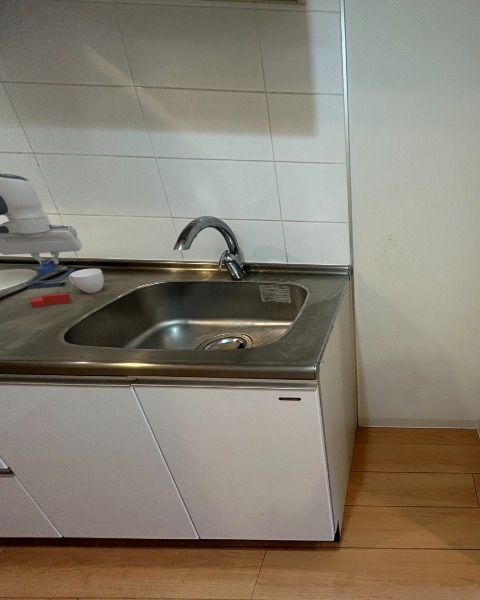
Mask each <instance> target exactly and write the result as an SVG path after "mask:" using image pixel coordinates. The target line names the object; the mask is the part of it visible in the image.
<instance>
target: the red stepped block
mask: <svg viewBox="0 0 480 600" xmlns="http://www.w3.org/2000/svg"><path fill="white" fill-rule="evenodd" d="M72 301H73V300H72V298H71V296H70V294H69V292H62V293H51V294H44V295H42V296H38V297H34V298H31V299H29V302H30V305H31V306H32V308H41V307H45V306H52V305H63V304H70V303H72Z"/></svg>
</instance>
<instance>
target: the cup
mask: <svg viewBox="0 0 480 600" xmlns="http://www.w3.org/2000/svg"><path fill="white" fill-rule="evenodd" d="M68 280H69V281H70V284H72V285H73V286H75V287H77V288H78V289H79V290H80V291H82V292H84V293H86V294H93V293H98V292H100V291H102V289H103V287H104V283H105V277H104V273H103V271H102V269H100V268H86V269H84V268H83V269H80V270H75V271H72V272H71V273H70V274H69V275H68Z"/></svg>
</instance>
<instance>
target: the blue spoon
mask: <svg viewBox="0 0 480 600" xmlns="http://www.w3.org/2000/svg"><path fill="white" fill-rule="evenodd" d="M51 259H53V257H52V258H49V259H47V261H45V262H44V263H42V265H41V266H38V267H36V268H35V269H36V271H37V274H40V275H42V276H45V275H49V274H50V275H51V274H52V273H54V272H53V271H52V270H56V269H57V268H59V263H58V264H51V262H50V260H51Z"/></svg>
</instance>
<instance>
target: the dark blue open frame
mask: <svg viewBox="0 0 480 600" xmlns="http://www.w3.org/2000/svg"><path fill="white" fill-rule="evenodd" d="M52 271H53V272H52V273H55V272H56V273H57V272H66V273H64V274H63V275H61V276H60V277H59V278H58V279H49V280H38V281H36V280H37V279H38V278H39V279H40V277H42V276H43V275H40V274H39V273H37V274H36V275H35V276H34V277H32V278H31V279H29V280H27V281H26V282H25V284H26V285H27V288H28V290H41V289H50V288H62V287H63V286H64V285H65V284H67V283H68V282H67V281H63V282H61V281H62V280H64V279H65V278H66V277H67V276H69V275H70V274H71V273H73V272H75V268H61V269H53V270H52Z"/></svg>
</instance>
